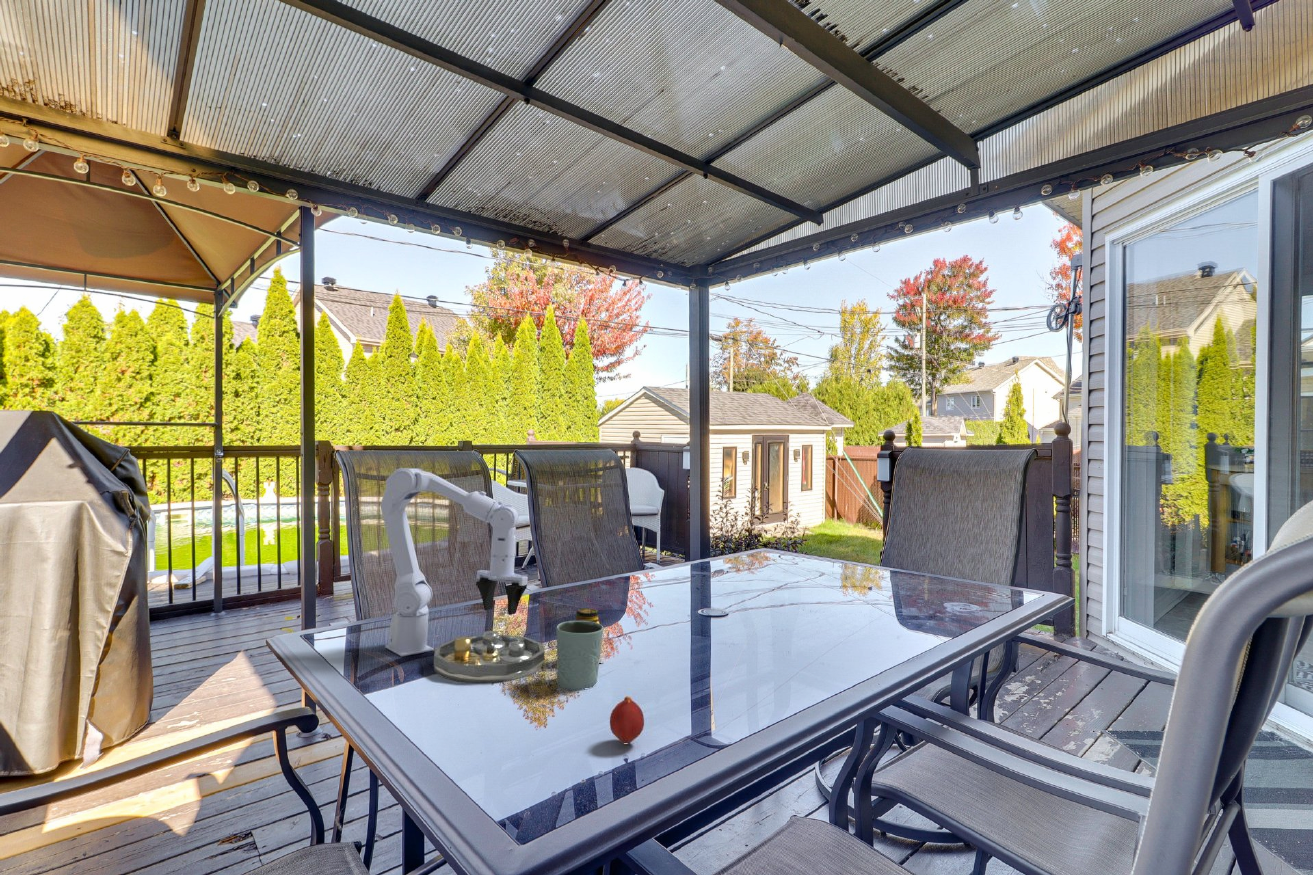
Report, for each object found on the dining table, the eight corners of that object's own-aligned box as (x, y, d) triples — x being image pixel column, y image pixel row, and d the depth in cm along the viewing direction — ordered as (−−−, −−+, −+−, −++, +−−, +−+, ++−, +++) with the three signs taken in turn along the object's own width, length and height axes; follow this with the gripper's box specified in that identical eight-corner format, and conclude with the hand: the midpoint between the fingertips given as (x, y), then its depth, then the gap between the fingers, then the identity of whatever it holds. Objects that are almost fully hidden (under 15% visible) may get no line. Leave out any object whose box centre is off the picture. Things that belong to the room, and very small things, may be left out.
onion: (608, 735, 108) (610, 688, 108) (642, 736, 108) (643, 689, 108) (609, 751, 102) (611, 701, 102) (644, 751, 102) (646, 701, 103)
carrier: (415, 661, 142) (416, 637, 143) (506, 643, 160) (507, 621, 160) (468, 691, 126) (469, 663, 126) (563, 667, 143) (565, 643, 143)
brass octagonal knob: (439, 662, 138) (441, 637, 138) (469, 657, 143) (470, 632, 143) (453, 671, 133) (454, 645, 133) (483, 665, 137) (485, 640, 138)
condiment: (604, 663, 147) (606, 612, 148) (571, 668, 142) (574, 615, 143) (590, 655, 153) (592, 605, 154) (558, 659, 149) (561, 608, 149)
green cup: (581, 672, 140) (584, 618, 141) (611, 684, 133) (613, 627, 134) (544, 681, 133) (546, 624, 134) (572, 695, 126) (575, 635, 126)
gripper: (468, 554, 152) (465, 610, 152) (514, 560, 146) (511, 619, 145) (489, 551, 159) (486, 605, 158) (534, 557, 152) (531, 613, 151)
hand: (499, 611), depth 152 cm, fingers open, 7 cm apart
